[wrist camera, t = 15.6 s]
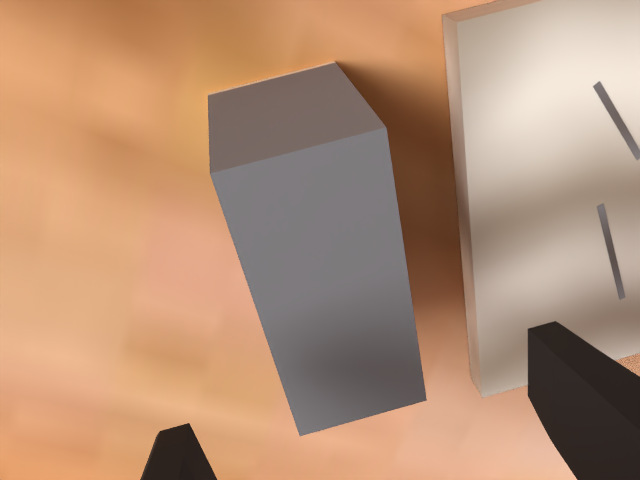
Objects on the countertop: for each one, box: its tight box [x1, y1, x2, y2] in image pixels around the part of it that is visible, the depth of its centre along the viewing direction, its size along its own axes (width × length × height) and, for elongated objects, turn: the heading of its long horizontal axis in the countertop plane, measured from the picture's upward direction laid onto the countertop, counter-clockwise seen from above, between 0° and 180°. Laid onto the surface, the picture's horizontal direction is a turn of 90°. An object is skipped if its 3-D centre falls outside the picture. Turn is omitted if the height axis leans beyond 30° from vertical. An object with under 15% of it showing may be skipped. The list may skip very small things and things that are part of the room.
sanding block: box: [208, 61, 427, 436], centre depth 18 cm, size 9×4×6 cm, turn 12°
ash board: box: [442, 0, 640, 398], centre depth 21 cm, size 16×13×1 cm
